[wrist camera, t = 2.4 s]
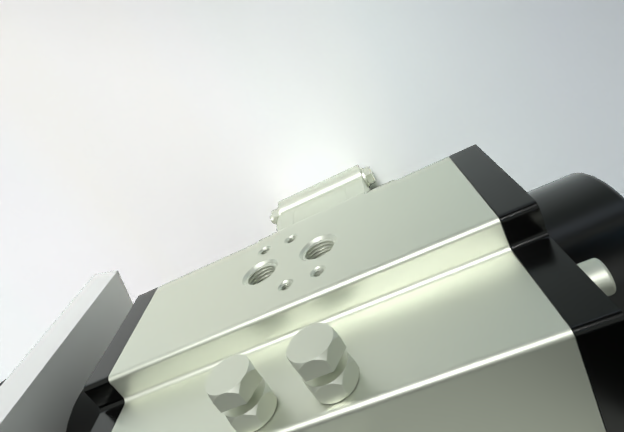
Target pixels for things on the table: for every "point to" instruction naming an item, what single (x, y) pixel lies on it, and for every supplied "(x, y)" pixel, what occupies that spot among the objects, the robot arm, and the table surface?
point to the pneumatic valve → (388, 315)
